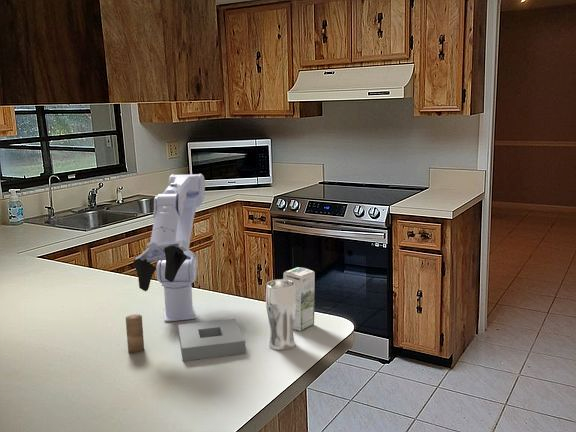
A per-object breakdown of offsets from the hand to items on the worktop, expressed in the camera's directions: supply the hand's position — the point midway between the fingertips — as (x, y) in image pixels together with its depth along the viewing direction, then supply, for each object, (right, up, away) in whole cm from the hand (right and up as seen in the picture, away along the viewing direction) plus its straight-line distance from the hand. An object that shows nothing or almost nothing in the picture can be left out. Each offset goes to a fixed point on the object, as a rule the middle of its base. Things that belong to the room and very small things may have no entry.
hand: (156, 284), depth 122 cm
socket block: (+11, -15, +6) cm, 20 cm away
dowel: (-6, -16, +4) cm, 17 cm away
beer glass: (+28, -15, +5) cm, 32 cm away
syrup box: (+32, -13, +16) cm, 39 cm away
